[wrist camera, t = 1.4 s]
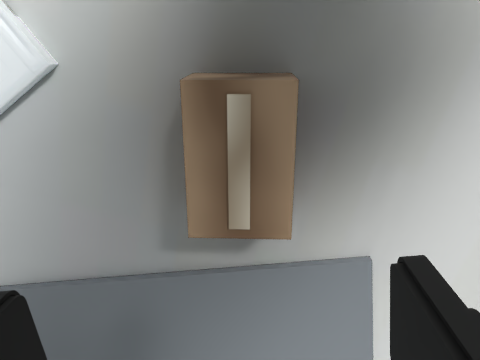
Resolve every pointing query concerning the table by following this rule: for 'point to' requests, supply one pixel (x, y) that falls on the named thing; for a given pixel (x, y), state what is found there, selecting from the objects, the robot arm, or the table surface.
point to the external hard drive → (19, 58)
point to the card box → (239, 153)
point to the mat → (210, 313)
